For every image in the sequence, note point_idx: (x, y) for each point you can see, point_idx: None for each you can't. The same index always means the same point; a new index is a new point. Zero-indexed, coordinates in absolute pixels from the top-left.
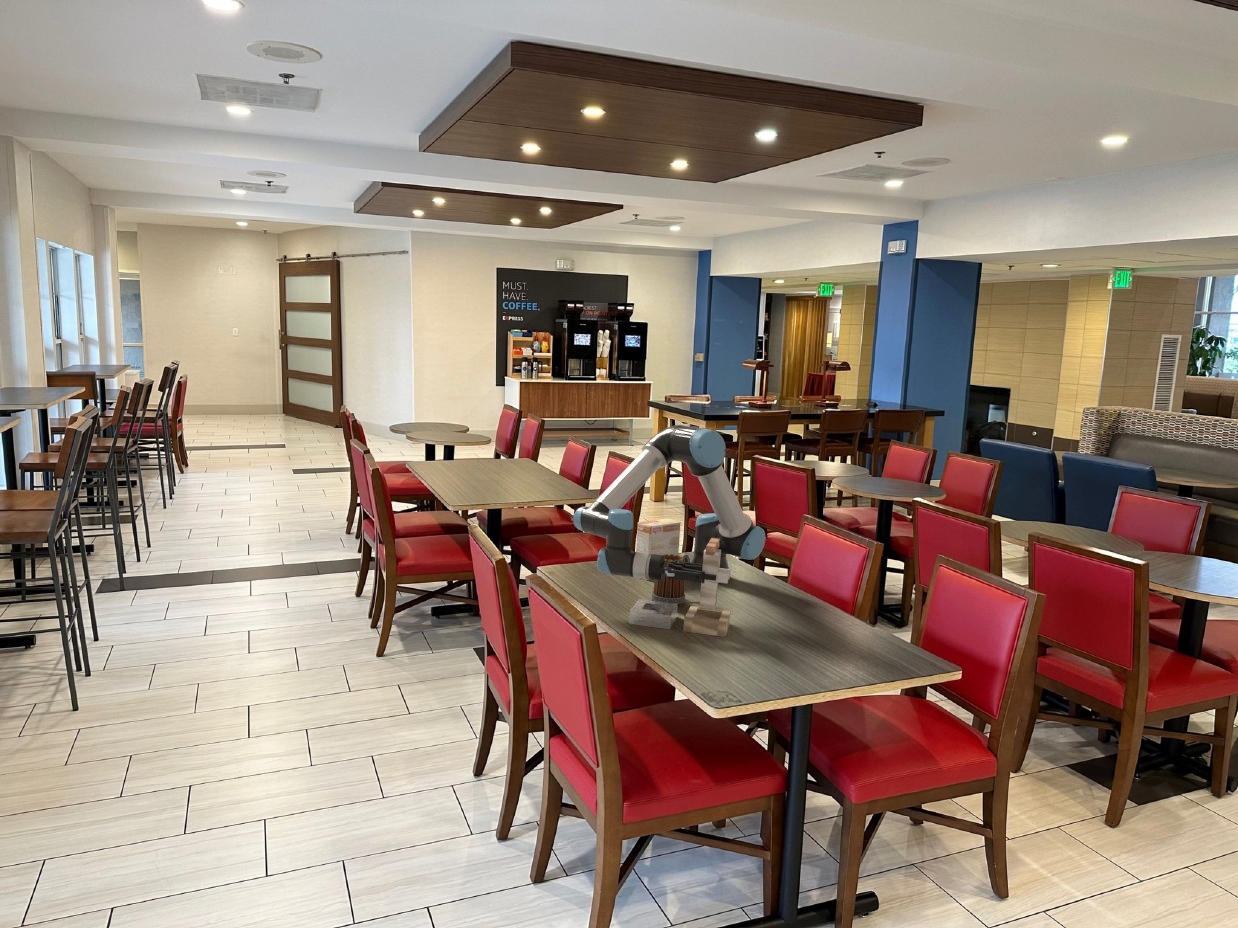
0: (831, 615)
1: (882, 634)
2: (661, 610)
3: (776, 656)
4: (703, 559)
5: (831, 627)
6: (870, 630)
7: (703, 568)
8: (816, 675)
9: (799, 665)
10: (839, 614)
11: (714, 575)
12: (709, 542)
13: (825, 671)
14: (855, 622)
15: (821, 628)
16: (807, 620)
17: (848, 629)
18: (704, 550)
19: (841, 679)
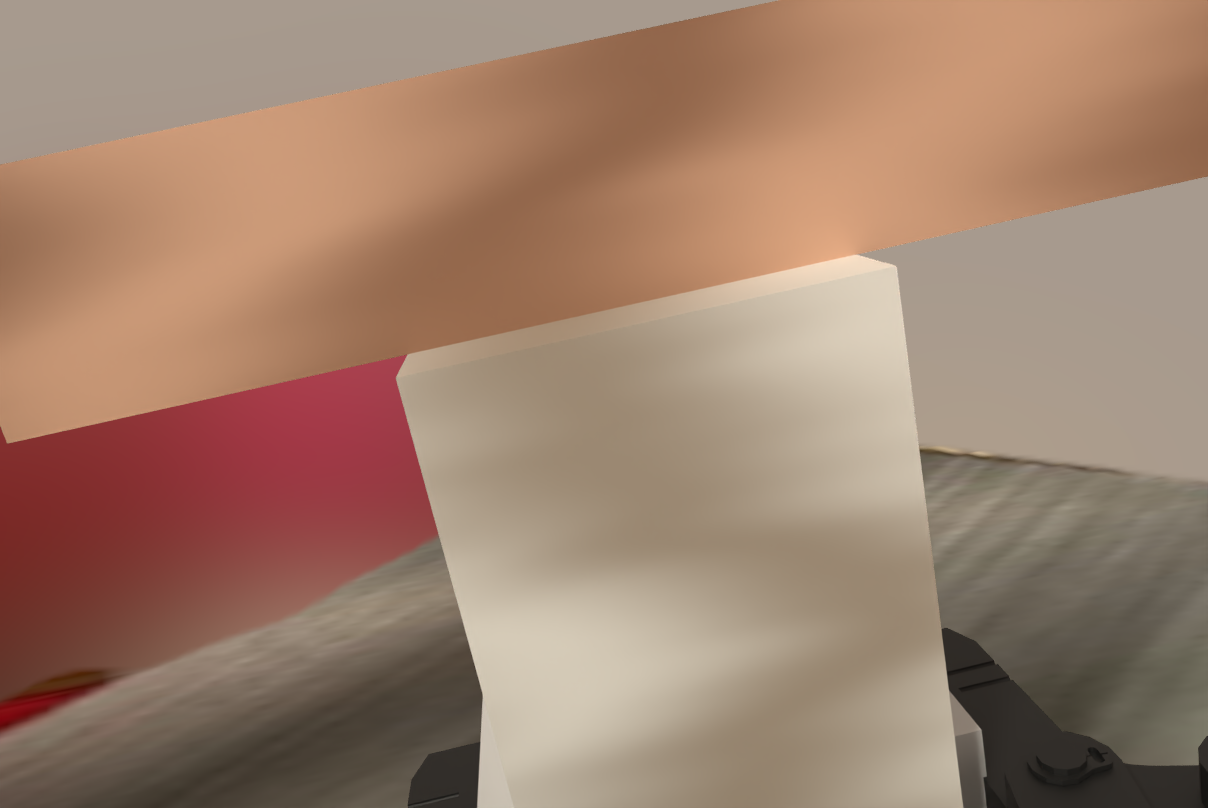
0: (109, 737)
1: (381, 567)
2: None
3: (1064, 704)
4: (924, 519)
5: (339, 685)
6: (338, 597)
7: (944, 742)
8: (1129, 544)
9: (1077, 608)
10: (88, 719)
11: (949, 647)
12: (659, 30)
13: (1035, 543)
14: (226, 651)
15: (373, 707)
16: (228, 789)
17: (350, 640)
18: (788, 289)
19: (1065, 500)
